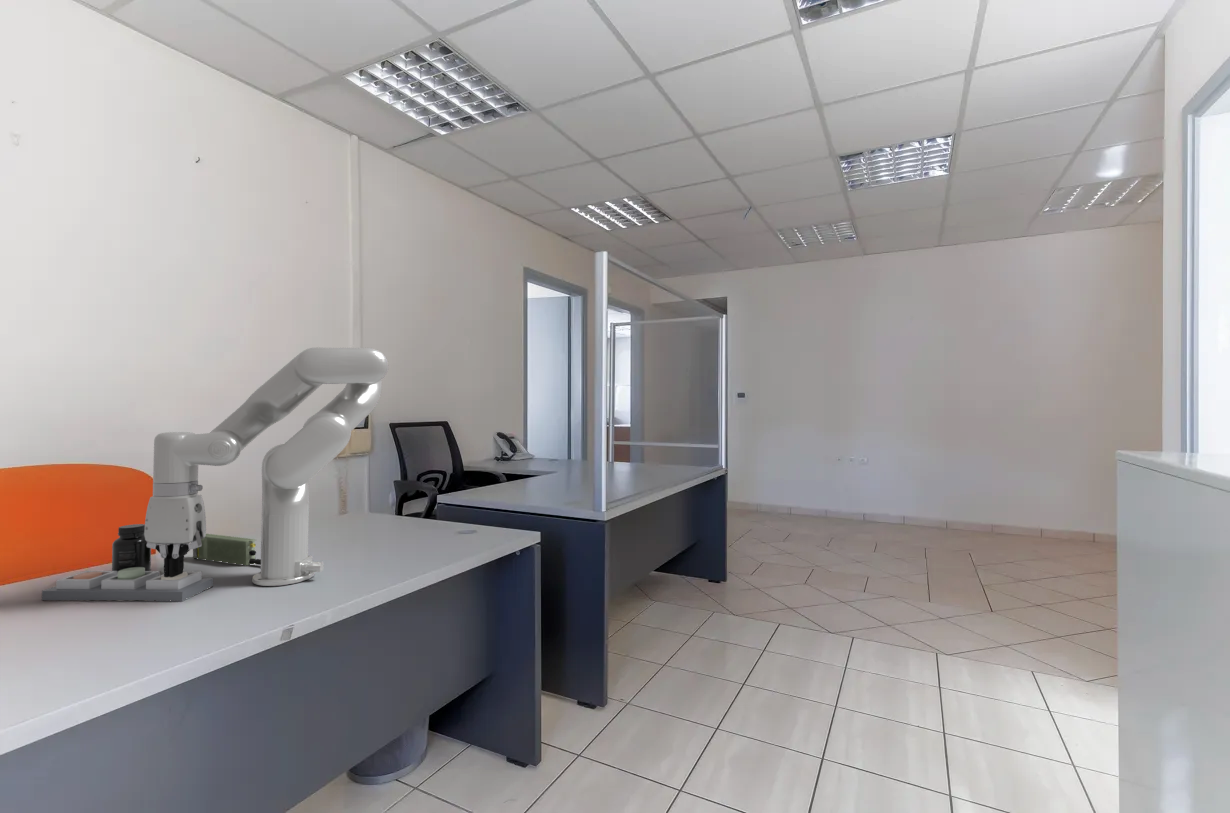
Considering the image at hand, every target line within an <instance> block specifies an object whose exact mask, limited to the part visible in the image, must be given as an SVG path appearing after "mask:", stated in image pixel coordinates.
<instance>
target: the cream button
mask: <svg viewBox="0 0 1230 813" xmlns="http://www.w3.org/2000/svg"><path fill="white" fill-rule="evenodd" d="M162 575H163V574H162ZM186 576H188V573H187V572H183V573H182V574H179V575H177V576H174V577H164V575H163V576H162V577H161V580H178V579H181V578H183V577H186Z"/></svg>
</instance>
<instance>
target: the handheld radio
mask: <svg viewBox="0 0 1230 813" xmlns="http://www.w3.org/2000/svg"><path fill="white" fill-rule="evenodd" d="M256 541H257V539H255V538H249V537H247V538H246V537H238V536H231V535H222V534H214V533H213V534H212V533H206V536H205V538H203V539H201V542H202V546H201V547H198V548H195V549H192V556H193V557H192V558H193V559H194V558H198V559H197V560H199V559H206V560H205V561H207V560H214V561H222V562H228V563H236V564H243V565H250V564H254V563H255V564H256V565H259V566H261V558H257V559H256V554H257V550H256V547H257V546H256ZM214 561H213V562H214ZM228 563H227V564H228Z"/></svg>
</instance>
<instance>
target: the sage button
mask: <svg viewBox="0 0 1230 813" xmlns="http://www.w3.org/2000/svg"><path fill="white" fill-rule="evenodd" d="M144 575H145V568H144V567H134V568H127V569H123V570H120V571H118V574H117V579H125V580H134V579H136V578H139V577H142V576H144Z"/></svg>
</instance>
